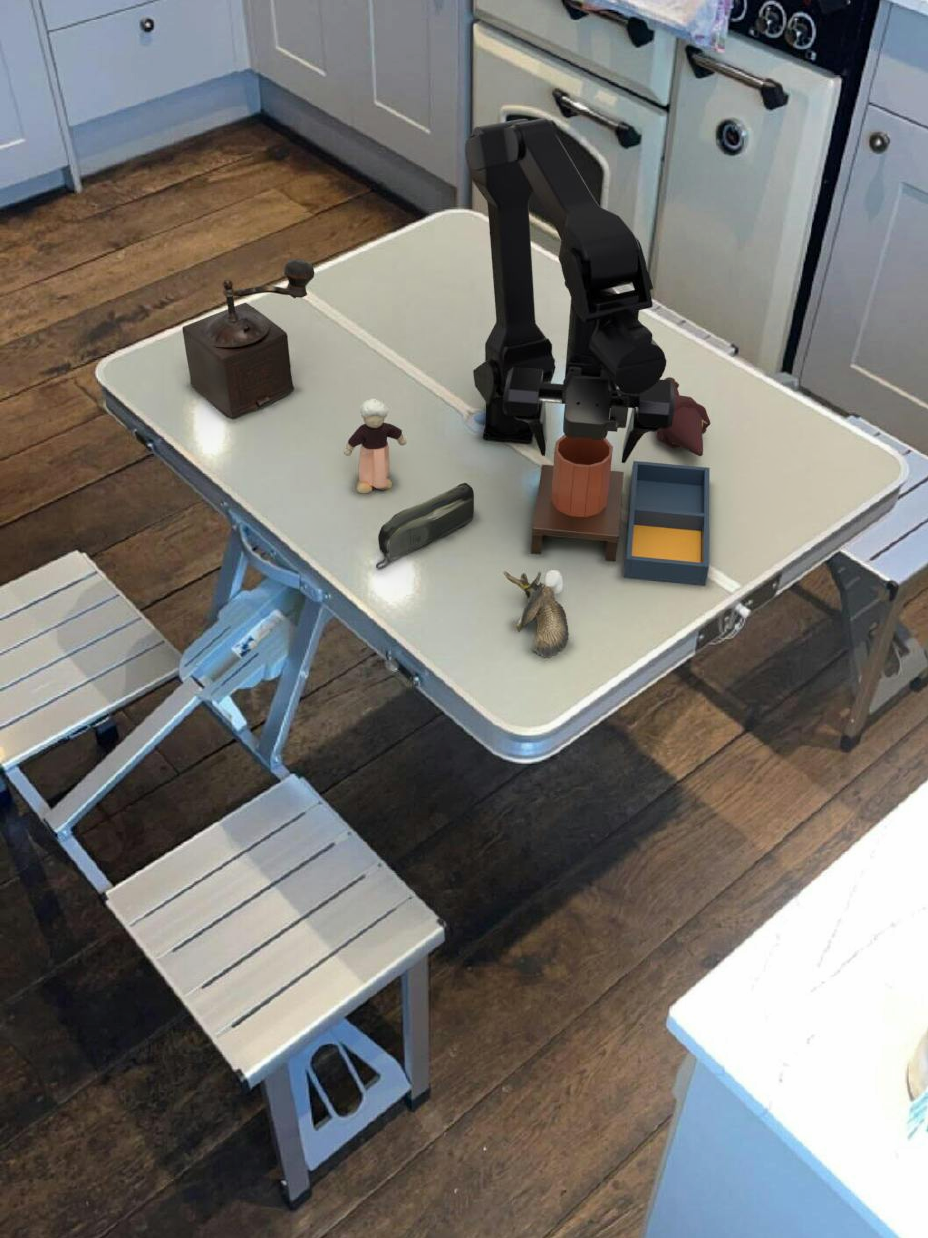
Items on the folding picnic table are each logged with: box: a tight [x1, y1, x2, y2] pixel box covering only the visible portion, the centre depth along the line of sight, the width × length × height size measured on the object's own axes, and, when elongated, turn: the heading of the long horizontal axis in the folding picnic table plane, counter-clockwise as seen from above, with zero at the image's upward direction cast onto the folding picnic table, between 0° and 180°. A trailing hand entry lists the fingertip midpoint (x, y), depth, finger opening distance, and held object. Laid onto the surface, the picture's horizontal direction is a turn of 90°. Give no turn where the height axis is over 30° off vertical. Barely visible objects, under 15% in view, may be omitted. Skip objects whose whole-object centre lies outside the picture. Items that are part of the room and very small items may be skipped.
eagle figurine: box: [503, 569, 570, 658], centre depth 142 cm, size 8×7×9 cm
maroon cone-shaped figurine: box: [655, 376, 711, 457], centre depth 165 cm, size 7×7×15 cm
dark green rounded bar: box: [375, 482, 475, 570], centre depth 152 cm, size 5×3×15 cm
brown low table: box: [530, 464, 625, 562], centre depth 155 cm, size 10×12×4 cm
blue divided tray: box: [623, 460, 711, 586], centre depth 155 cm, size 9×18×3 cm, turn 172°
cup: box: [551, 434, 614, 517], centre depth 151 cm, size 7×7×8 cm
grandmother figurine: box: [343, 398, 407, 494], centre depth 157 cm, size 8×4×13 cm, turn 117°
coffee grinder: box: [181, 258, 316, 420], centre depth 170 cm, size 16×11×18 cm
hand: (583, 457), depth 149 cm, fingers open, 9 cm apart
